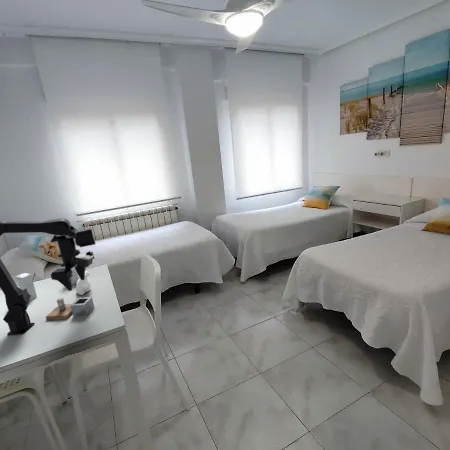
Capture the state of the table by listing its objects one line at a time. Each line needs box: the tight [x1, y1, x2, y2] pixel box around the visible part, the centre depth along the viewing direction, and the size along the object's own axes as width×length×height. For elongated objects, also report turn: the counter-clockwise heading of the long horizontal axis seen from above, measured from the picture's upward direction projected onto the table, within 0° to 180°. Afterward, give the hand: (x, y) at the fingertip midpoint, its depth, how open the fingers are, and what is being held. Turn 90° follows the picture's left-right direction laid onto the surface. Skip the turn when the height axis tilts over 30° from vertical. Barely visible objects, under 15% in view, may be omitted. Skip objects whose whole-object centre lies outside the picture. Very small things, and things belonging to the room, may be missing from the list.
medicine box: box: [71, 268, 79, 285], centre depth 143 cm, size 8×4×9 cm, turn 130°
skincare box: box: [15, 272, 37, 300], centre depth 130 cm, size 6×4×12 cm
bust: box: [75, 270, 92, 296], centre depth 133 cm, size 12×8×11 cm
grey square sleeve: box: [71, 296, 95, 317], centre depth 114 cm, size 6×6×5 cm
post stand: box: [45, 297, 73, 321], centre depth 114 cm, size 9×9×6 cm
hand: (77, 285), depth 111 cm, fingers open, 9 cm apart
